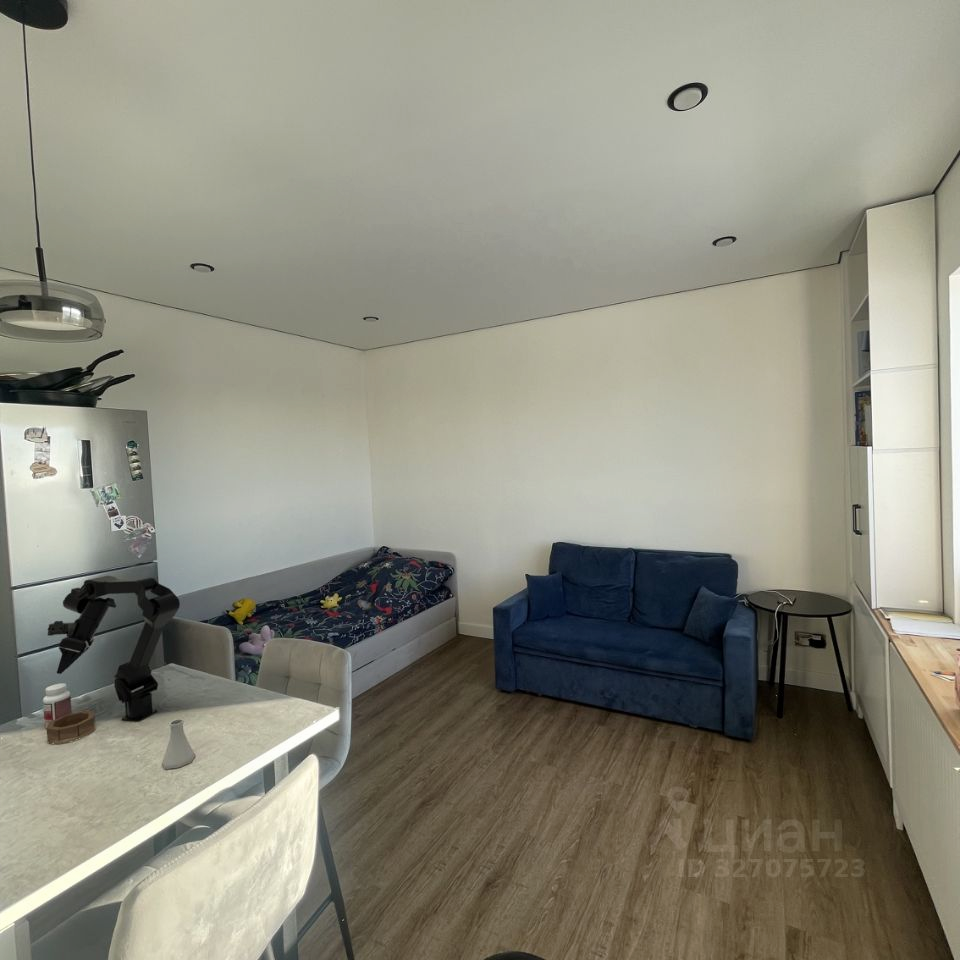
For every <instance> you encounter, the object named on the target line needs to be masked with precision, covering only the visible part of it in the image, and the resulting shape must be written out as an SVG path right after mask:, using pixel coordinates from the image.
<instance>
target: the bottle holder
mask: <svg viewBox="0 0 960 960" xmlns="http://www.w3.org/2000/svg"><path fill="white" fill-rule="evenodd" d="M95 714H96V713H95V711H88V710H80V711H77V712H72V713H71V714H67V715H64V716H62V717H59V718H57V719H55V720H53V721H51V722H50V723H49V724H48V726H47V728H46V737H47V738H46V739H47V743H48V742H49V743H54V744H57V745H61V744H60V743H65V744H67V743H66V742H69V743H71V742H70V741H73V742H75V741H74V740H76V739H79V738H82V737H84V736H86V737H88V736H90V735H91V734H92V733H93V732H95V730H96V729H95V728H96V727H97V726H96V718H95V716H96V715H95ZM90 733H91V734H90ZM87 735H88V736H87ZM84 738H85V737H84ZM82 739H83V738H82ZM79 740H80V739H79ZM76 741H77V740H76ZM49 743H48V744H49ZM54 744H53V745H54Z"/></svg>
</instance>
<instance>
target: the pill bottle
mask: <svg viewBox="0 0 960 960" xmlns="http://www.w3.org/2000/svg"><path fill="white" fill-rule="evenodd" d="M44 690H45V696H44V697H43V699H42V706H43V718H44V727H45V728H46V729H47V726H48V724H49V723H50V722H51V721H53V720H55V719H57V718H59V717H62V716H64V715H67V714H71V713H73V710H72V709H73V708H72V698H71V692H70V691H69V690H67V683H64V682H63V683H62V682H61V683H55V684H53V685H50V686H48V687H46V688H45V689H44Z"/></svg>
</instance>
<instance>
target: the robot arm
mask: <svg viewBox="0 0 960 960" xmlns="http://www.w3.org/2000/svg"><path fill="white" fill-rule="evenodd" d="M147 592H148V593H149V592H151V593H152V594H154V595H156V597H153V598H148V596H146V593H147ZM111 594H112V595H115V594H120V595H121V594H135V595H136V597H137V606H138V607H139V608H140V609H141V611H142V617H143V620H144V621H145V622H144V624H143V627H142V629H141V632H140V635H139V637H138V640H137V643H136V645H135V648H134V650H133V653H132V654H131V657H130V660H129V661H128V662H127V661H126V662H125V663H123V664H120V665H119V666H118V668H117V671H116V674H115V675H114V689H115V692H116V695H117V698H118V699H117V700H118V701H120V702H121V703H123V704H124V711H125V713H124V714H125V716H123V717H121V720H122V721H128V720H130V722H141V721H143V720H144V719H146V718H148V717H150V716H152V715H153V714H155V713H157V712H158V708H157V709H156V708H153V698H152V697H153V696H152V695H153V693H152V692H154V691H157V690H158V687H159V683H158V682H157V680H156V679H155V677H154V676H153V675H152V668H151V666H150V662H151V660H152V657H153V655H154V652H155V651H156V647H157V645H158V642H159V640H160V638H161V635H162V633H163V630H164V627H165V625H167V624H168V623H169V621H171V620H172V619H173V618H174V616H175V615H176V614H177V612H178V610H179V609H180V604H181V602H180V599H179V598H178V596H177V595H176V593H174V591H172V589H170V588H168V587H167V586H165V585H163V584H160V583H159V582H158V581H157V580H156V579H155V578H154V577H144V578H142V577H141V578H123V579H120V578H117V577H116V576H111V575H104V576H98V577H96V578H95V577H94V578H90V579H86V580H84V581H83V585H81V587H75V588H71V590H70V593H68V594H67V595H66V596H65V597H64V599H63V600H62V606H63V607H64V609H66V610H69V611H71V612H74V613H77V614H80V615H79V617H78V618H76V619H75V620H74V621H73V622H64V621H63V620H55V621H54V622H53V623H49V624H48V628H47V637H48V636H55V635H57V636H58V635H66V637H64V638H62V639H61V640H60V642H59V644H58V649H59V651H60V653H61V657H60V660H59V663H58V666H57V667H58V668H57V670H56V674H59V675H61V674H63V673H64V672H65V670H68V668H69V667H71V666H72V665H73V663H75V662H76V661H77V660H78V659H79V658H81V656H83V654H85V653H86V652H87V651H88V650H89V649H90V647H92V645H93V644H94V641H95V637H94V636H95V634H96V633H97V630H98V629H99V628H100V627H101V624H102V622H103V620H104V618H105V616H106V614H107V612H108V611H109V608H114V609H115V608H117V605H116V603H115V599H114V598H112V597H107V598H103V596H107V595H111ZM156 711H157V712H156ZM142 719H143V720H142Z"/></svg>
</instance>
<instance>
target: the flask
mask: <svg viewBox="0 0 960 960" xmlns="http://www.w3.org/2000/svg"><path fill="white" fill-rule="evenodd" d="M184 722H185V720H184V719H183V718H176V719H173V720H171V721H169V723H168V725H169V727H170V732H169V733H170V734H169V738H168V739H169V740H168V743H167V746H166V750H165V753H164V755H163V759H162V762H161V766H162V768H163V769H164V770H169V769H178V768H181V767H183V766H185V765H188V764H190V763H192V762H193V760H194V759H195V757H196V754H195V751H194V750H193V748H192V746H191V745H190V743H189V740H188V738H187V736H186V734H185V730H184Z"/></svg>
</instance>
